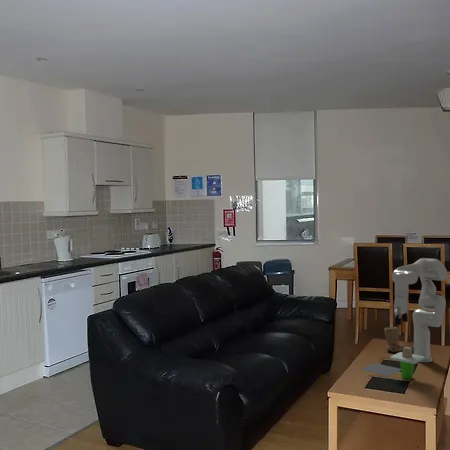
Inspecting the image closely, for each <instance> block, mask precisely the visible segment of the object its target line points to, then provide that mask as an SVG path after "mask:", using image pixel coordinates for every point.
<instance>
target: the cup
mask: <svg viewBox="0 0 450 450" xmlns="http://www.w3.org/2000/svg"><path fill="white" fill-rule="evenodd" d="M399 363H400V364H399V367H400V369H401V371H400V372H401V377H402V378H403V379H405V380H411V379H413V374H414V371H415V370H414V369H415V364H416V363H415V364H412V363H407V362H402V361H399Z"/></svg>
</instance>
